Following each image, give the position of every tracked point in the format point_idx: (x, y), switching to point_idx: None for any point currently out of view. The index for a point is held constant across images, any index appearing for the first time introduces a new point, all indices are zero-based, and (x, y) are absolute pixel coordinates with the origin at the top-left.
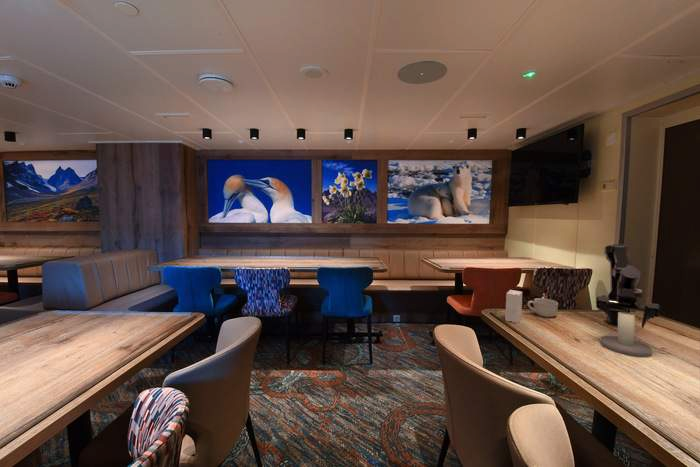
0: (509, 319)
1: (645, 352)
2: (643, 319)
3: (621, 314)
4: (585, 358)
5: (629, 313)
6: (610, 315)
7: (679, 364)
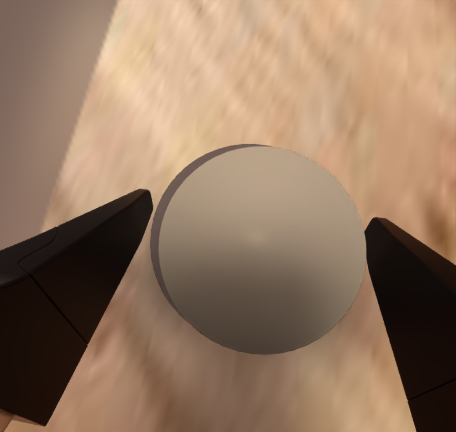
0: None
1: (188, 166)
2: (95, 225)
3: (329, 177)
4: (400, 21)
5: (212, 303)
6: (418, 255)
7: (100, 167)
